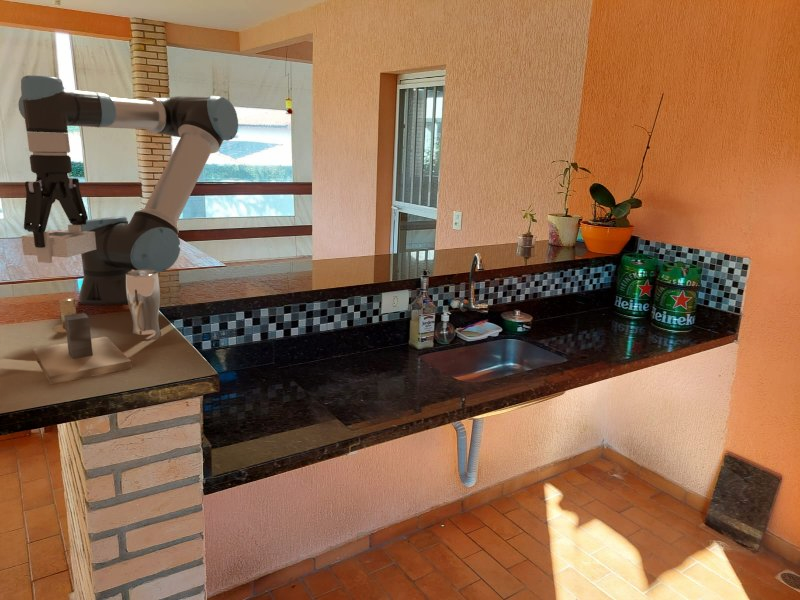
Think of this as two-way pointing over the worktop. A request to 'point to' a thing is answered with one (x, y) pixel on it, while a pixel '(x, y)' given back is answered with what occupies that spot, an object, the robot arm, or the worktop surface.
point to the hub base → (81, 365)
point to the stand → (65, 312)
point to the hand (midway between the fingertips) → (62, 257)
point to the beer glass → (144, 302)
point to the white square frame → (63, 243)
